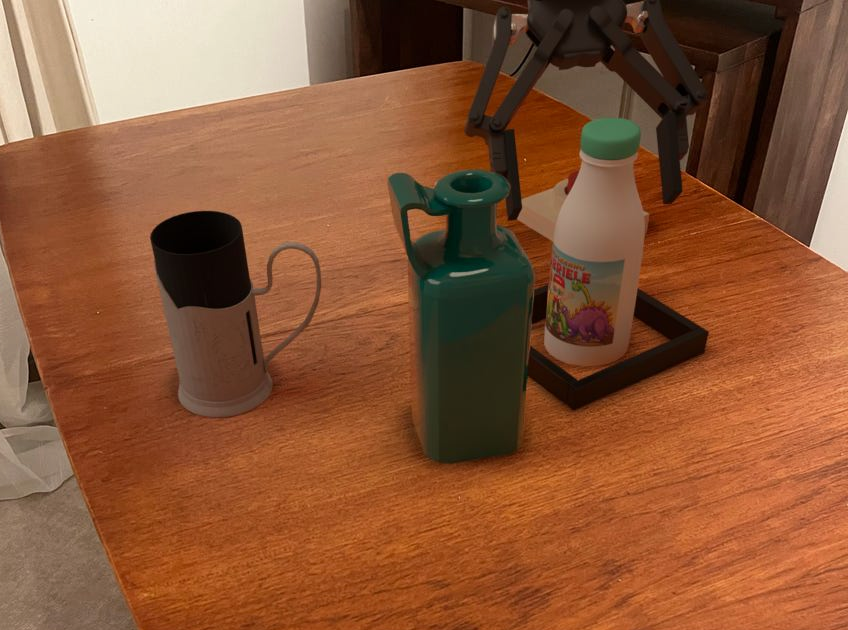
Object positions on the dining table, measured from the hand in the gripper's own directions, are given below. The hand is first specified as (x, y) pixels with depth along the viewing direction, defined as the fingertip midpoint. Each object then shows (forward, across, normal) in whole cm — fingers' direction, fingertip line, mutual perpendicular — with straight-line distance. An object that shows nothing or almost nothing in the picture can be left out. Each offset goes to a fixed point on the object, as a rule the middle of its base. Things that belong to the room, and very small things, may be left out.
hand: (594, 207), depth 86 cm
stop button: (-9, +6, +22) cm, 24 cm away
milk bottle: (+10, 0, +8) cm, 13 cm away
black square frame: (+10, 0, +8) cm, 13 cm away
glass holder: (+11, -31, +8) cm, 33 cm away
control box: (-6, +6, +24) cm, 26 cm away
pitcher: (+18, -14, 0) cm, 23 cm away
